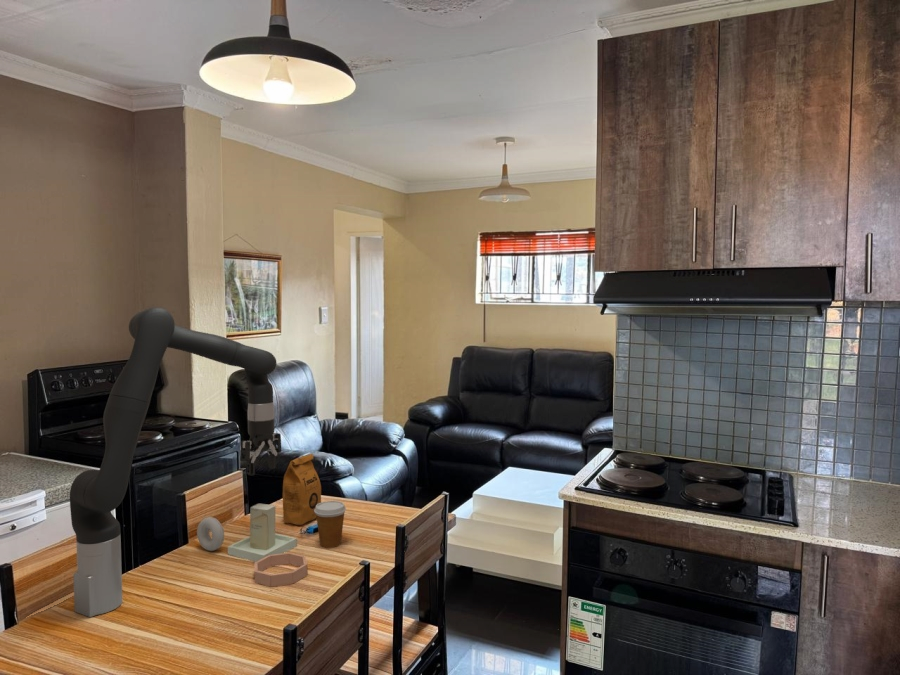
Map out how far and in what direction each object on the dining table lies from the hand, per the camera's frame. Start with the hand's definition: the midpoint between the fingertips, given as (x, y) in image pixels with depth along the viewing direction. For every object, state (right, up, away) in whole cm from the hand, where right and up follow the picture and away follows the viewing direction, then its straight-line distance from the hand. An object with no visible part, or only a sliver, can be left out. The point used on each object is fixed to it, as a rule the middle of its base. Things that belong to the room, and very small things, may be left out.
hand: (261, 471), depth 178 cm
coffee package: (+6, -23, +26) cm, 35 cm away
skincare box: (0, -23, +1) cm, 23 cm away
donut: (-16, -24, +1) cm, 29 cm away
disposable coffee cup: (+19, -24, +6) cm, 31 cm away
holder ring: (+10, -25, -15) cm, 30 cm away
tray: (0, -24, +1) cm, 24 cm away
